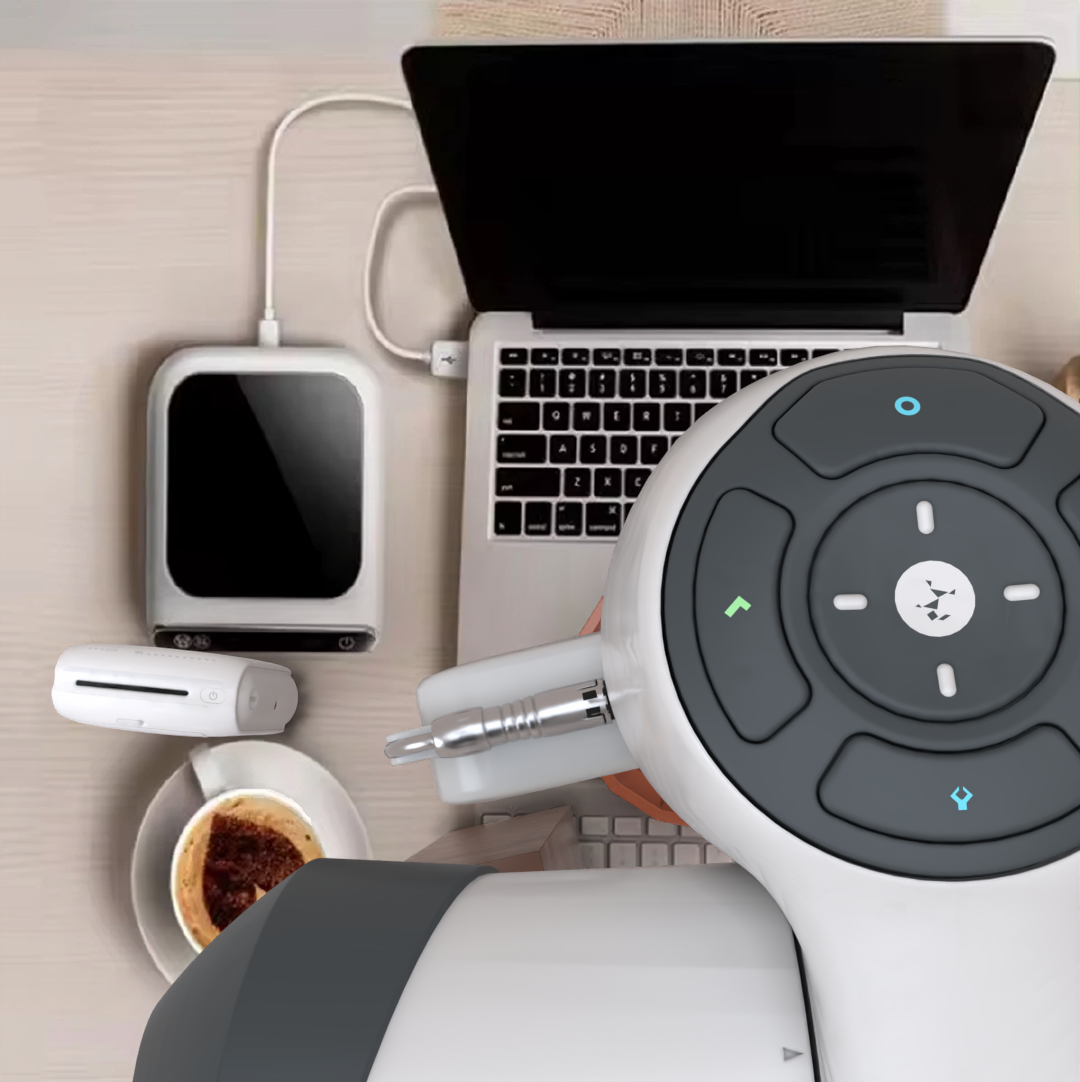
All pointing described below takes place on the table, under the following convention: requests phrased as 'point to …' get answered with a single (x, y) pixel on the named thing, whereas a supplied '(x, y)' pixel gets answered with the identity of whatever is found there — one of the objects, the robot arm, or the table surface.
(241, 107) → the table surface
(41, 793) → the table surface
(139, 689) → the photo printer
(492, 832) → the holder
